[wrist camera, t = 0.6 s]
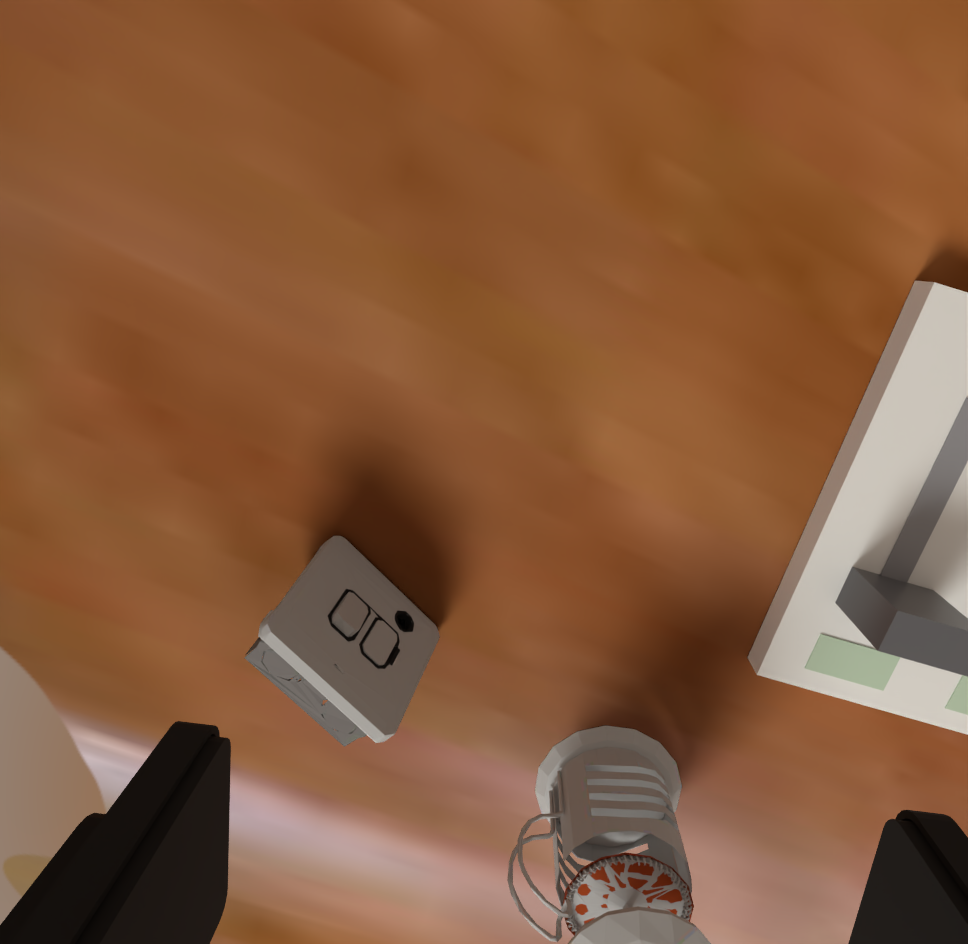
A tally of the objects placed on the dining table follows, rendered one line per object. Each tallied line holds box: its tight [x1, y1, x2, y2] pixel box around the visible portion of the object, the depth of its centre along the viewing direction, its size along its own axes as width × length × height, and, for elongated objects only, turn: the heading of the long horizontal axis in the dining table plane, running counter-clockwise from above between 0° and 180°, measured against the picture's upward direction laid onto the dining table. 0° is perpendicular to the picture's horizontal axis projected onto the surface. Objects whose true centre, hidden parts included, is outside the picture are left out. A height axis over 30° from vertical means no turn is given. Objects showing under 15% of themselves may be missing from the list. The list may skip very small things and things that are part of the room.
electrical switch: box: [245, 536, 440, 746], centre depth 44 cm, size 9×5×9 cm, turn 43°
